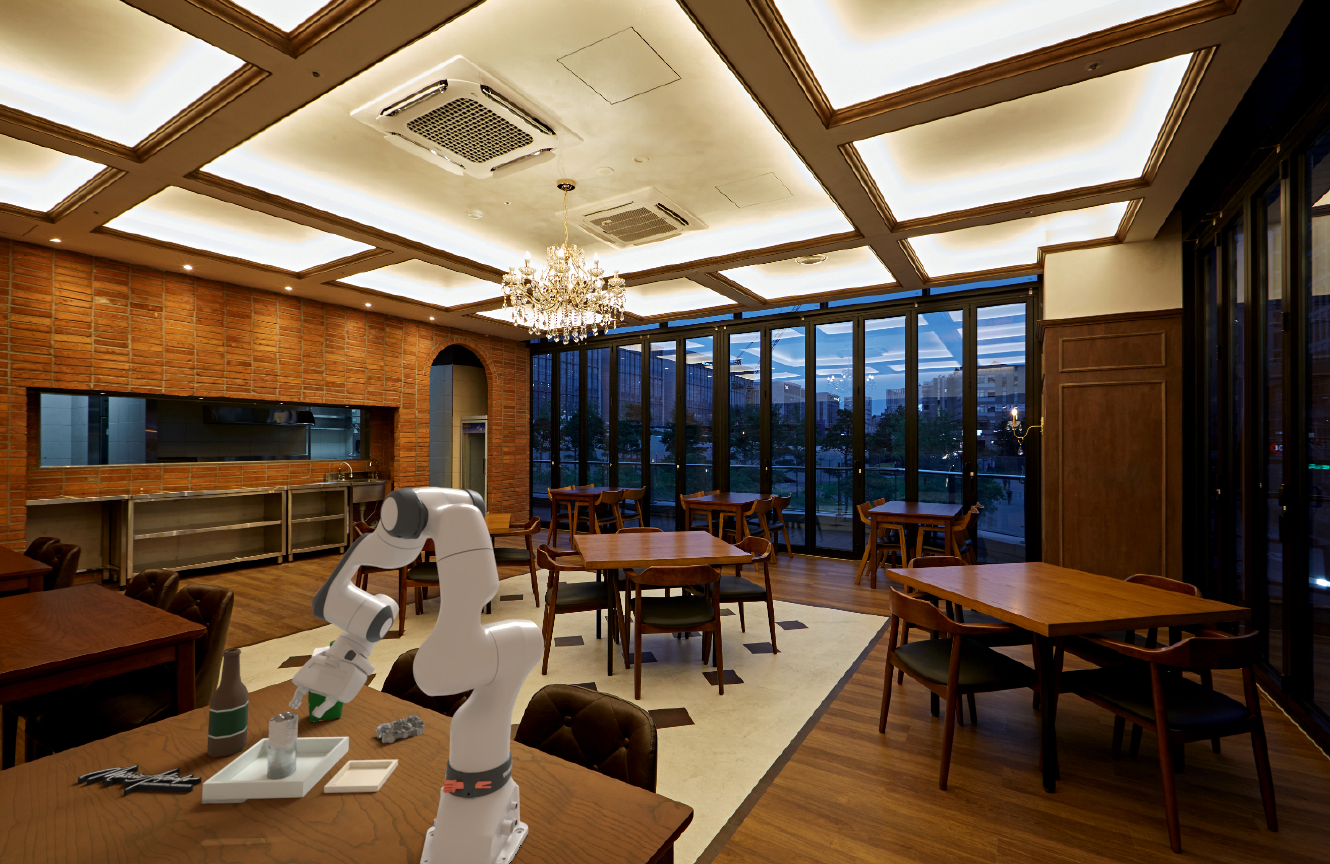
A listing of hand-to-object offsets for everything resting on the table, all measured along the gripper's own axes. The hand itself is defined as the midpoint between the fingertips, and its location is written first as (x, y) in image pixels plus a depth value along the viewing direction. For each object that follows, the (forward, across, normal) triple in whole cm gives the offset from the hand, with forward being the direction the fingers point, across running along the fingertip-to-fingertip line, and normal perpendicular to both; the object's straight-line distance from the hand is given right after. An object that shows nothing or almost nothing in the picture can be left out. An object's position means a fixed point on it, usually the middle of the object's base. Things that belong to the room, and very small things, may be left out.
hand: (303, 711), depth 136 cm
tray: (+6, +17, +11) cm, 22 cm away
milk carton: (-5, -22, +23) cm, 32 cm away
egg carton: (-6, +6, +25) cm, 26 cm away
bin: (+12, 0, +6) cm, 13 cm away
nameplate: (+24, -24, -5) cm, 34 cm away
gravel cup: (+11, 0, +5) cm, 13 cm away
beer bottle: (+12, -24, +6) cm, 28 cm away
